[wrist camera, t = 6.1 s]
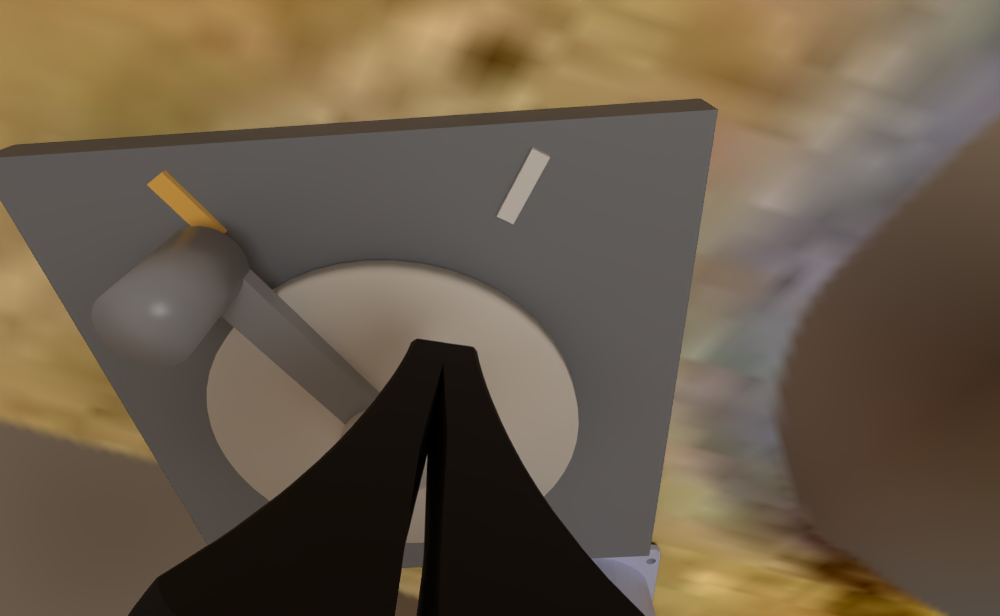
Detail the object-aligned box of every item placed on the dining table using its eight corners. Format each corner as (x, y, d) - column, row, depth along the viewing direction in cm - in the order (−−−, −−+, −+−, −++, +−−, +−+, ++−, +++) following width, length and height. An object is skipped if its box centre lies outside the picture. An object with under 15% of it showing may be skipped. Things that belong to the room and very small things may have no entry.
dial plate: (642, 529, 28) (650, 559, 27) (238, 550, 29) (224, 580, 27) (700, 98, 17) (720, 110, 15) (14, 145, 17) (-30, 161, 16)
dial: (634, 447, 22) (665, 550, 18) (380, 557, 26) (360, 661, 22) (364, 86, 15) (317, 129, 11) (60, 320, 19) (-57, 416, 15)
